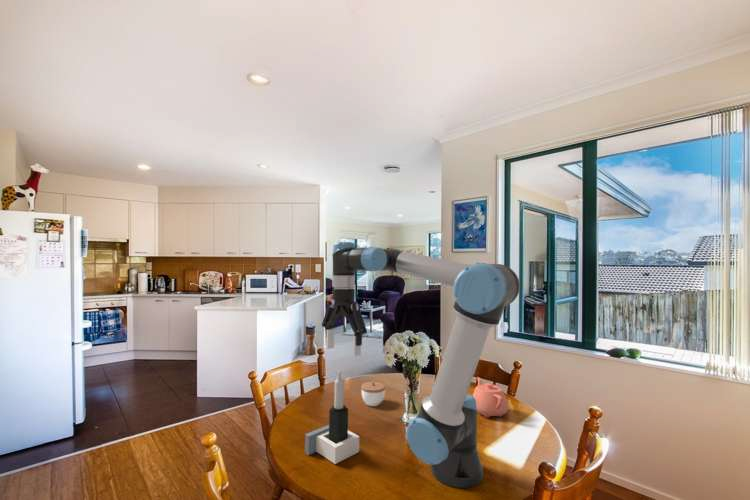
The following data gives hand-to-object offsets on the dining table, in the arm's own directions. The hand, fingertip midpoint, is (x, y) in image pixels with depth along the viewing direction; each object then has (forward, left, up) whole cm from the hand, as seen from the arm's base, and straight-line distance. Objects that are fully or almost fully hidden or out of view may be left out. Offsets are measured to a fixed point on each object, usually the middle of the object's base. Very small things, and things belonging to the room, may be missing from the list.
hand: (343, 351), depth 114 cm
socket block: (0, +1, -33) cm, 33 cm away
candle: (0, +1, -32) cm, 32 cm away
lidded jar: (+20, -35, -33) cm, 52 cm away
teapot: (-20, -64, -33) cm, 74 cm away
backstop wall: (+6, +1, -33) cm, 33 cm away
